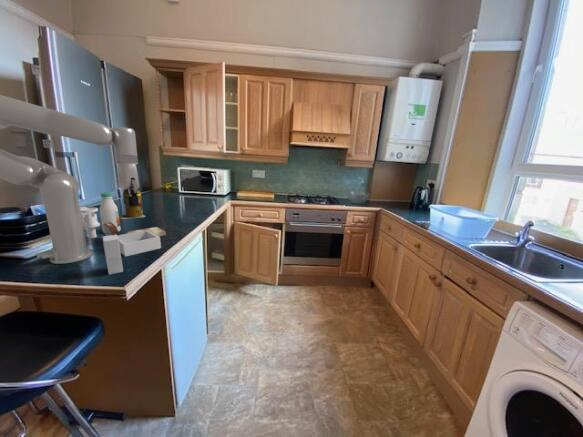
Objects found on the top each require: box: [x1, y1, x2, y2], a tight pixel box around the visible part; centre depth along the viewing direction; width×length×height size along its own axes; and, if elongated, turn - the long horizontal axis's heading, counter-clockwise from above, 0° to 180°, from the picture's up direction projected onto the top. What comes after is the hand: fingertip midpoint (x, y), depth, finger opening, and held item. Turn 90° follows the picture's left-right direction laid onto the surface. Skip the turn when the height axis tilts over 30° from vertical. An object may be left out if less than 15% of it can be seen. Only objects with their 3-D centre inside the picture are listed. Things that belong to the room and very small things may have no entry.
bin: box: [117, 230, 162, 257], centre depth 108 cm, size 14×15×5 cm
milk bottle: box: [99, 192, 122, 234], centre depth 128 cm, size 8×8×20 cm
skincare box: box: [102, 235, 124, 276], centre depth 86 cm, size 6×4×12 cm
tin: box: [104, 222, 120, 236], centre depth 115 cm, size 15×3×8 cm, turn 47°
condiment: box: [118, 187, 146, 220], centre depth 104 cm, size 7×8×12 cm
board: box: [126, 226, 167, 237], centre depth 126 cm, size 14×11×2 cm
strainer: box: [80, 206, 101, 239], centre depth 119 cm, size 7×7×15 cm
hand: (131, 204), depth 104 cm, fingers closed on condiment, 6 cm apart
